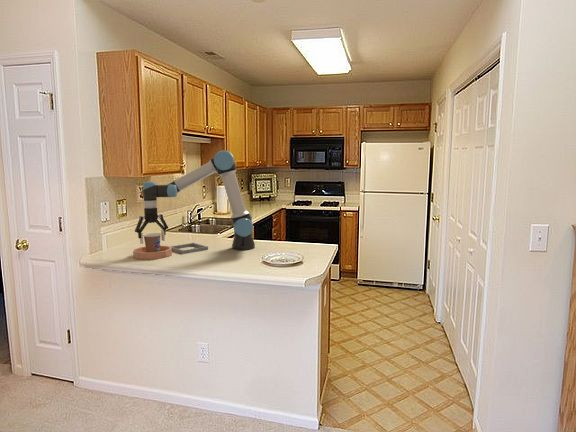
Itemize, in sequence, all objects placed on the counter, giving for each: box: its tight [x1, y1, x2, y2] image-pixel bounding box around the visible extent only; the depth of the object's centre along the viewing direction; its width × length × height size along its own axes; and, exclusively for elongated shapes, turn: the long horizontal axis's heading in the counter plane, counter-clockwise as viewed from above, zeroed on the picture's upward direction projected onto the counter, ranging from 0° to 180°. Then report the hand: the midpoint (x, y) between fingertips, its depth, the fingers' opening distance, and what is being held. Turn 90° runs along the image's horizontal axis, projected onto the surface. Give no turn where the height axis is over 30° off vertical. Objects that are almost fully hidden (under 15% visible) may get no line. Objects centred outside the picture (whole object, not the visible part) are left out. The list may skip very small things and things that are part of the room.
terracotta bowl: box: [132, 244, 173, 261], centre depth 242 cm, size 22×22×4 cm
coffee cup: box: [143, 232, 161, 253], centre depth 242 cm, size 10×10×12 cm
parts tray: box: [170, 242, 209, 255], centre depth 259 cm, size 18×18×2 cm
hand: (152, 242), depth 242 cm, fingers open, 13 cm apart
